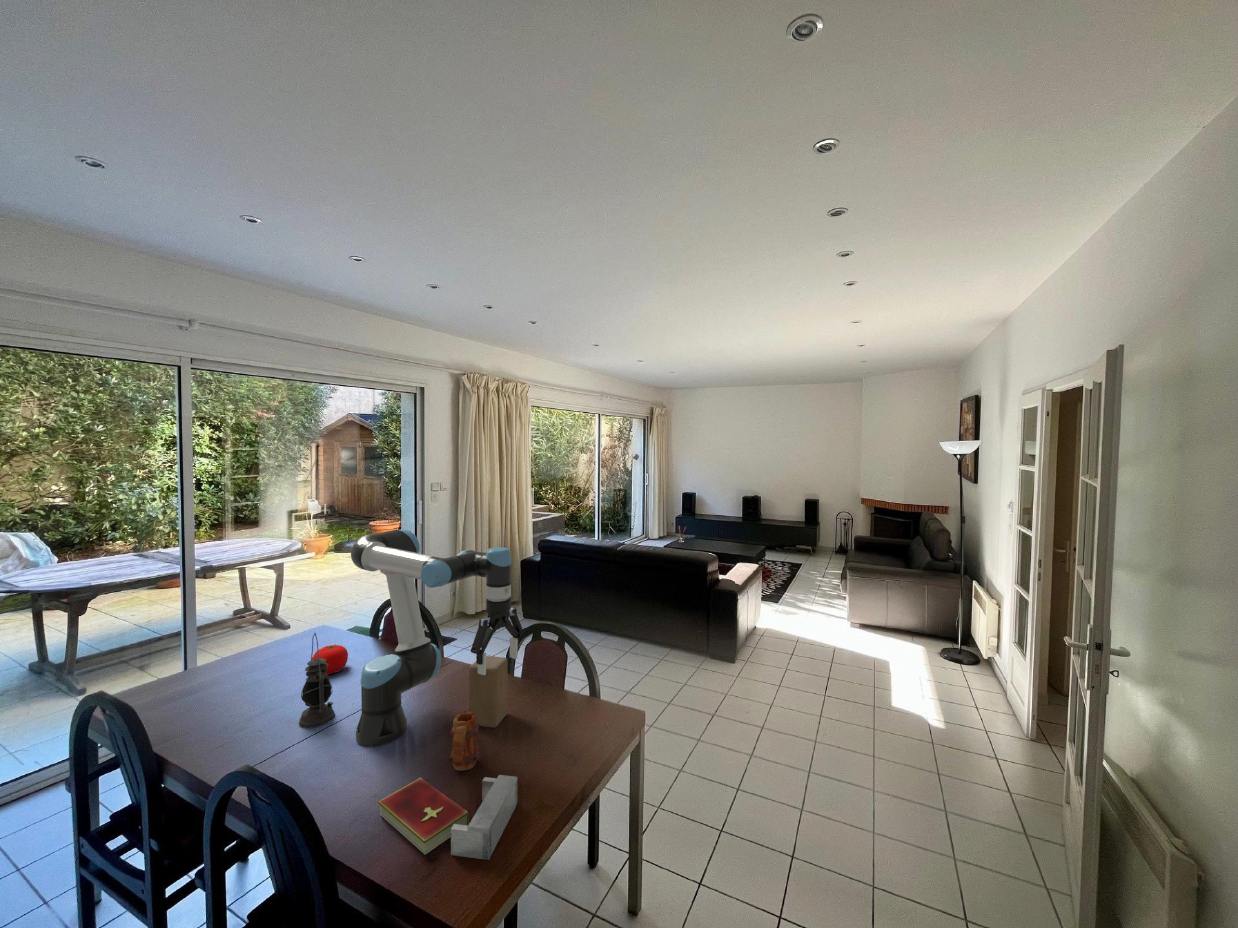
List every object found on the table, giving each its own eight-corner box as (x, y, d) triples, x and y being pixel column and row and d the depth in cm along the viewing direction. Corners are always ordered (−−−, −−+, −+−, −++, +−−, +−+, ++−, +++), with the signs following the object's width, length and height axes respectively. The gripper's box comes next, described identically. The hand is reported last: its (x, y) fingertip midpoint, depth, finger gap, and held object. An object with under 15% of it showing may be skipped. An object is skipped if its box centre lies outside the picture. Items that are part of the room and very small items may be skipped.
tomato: (335, 679, 198) (335, 653, 198) (304, 678, 198) (303, 653, 198) (355, 663, 212) (354, 639, 212) (325, 663, 213) (325, 639, 212)
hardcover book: (422, 790, 133) (422, 775, 133) (469, 826, 120) (469, 809, 120) (378, 816, 124) (377, 800, 124) (424, 858, 111) (424, 840, 111)
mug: (454, 756, 148) (454, 706, 147) (482, 754, 148) (482, 705, 148) (441, 789, 133) (441, 734, 133) (472, 787, 134) (471, 732, 133)
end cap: (451, 854, 111) (450, 824, 111) (484, 799, 129) (484, 773, 129) (488, 859, 110) (488, 829, 110) (517, 803, 128) (517, 776, 128)
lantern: (340, 719, 168) (339, 632, 167) (304, 732, 160) (303, 641, 159) (328, 707, 176) (327, 623, 176) (293, 718, 168) (292, 631, 168)
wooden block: (496, 729, 162) (495, 669, 162) (468, 725, 164) (467, 666, 164) (508, 713, 172) (508, 656, 172) (482, 710, 174) (482, 654, 174)
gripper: (476, 611, 140) (476, 684, 141) (534, 590, 162) (534, 654, 162) (458, 606, 144) (458, 678, 145) (517, 586, 166) (516, 649, 166)
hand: (498, 665), depth 154 cm, fingers open, 13 cm apart
